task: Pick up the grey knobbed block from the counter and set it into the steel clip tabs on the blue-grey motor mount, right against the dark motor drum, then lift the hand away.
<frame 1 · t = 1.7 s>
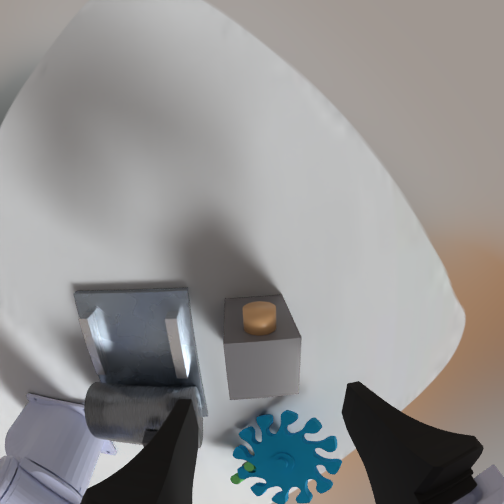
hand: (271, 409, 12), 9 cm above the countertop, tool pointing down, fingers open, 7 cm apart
motor mount: (137, 338, 20), on the countertop
gear: (274, 433, 24), on the countertop
grey knobbed block: (254, 322, 20), on the countertop
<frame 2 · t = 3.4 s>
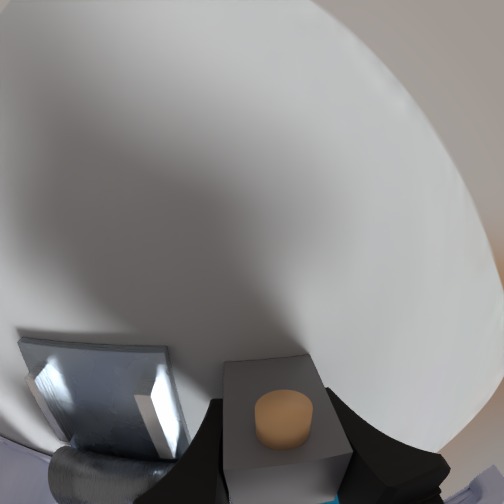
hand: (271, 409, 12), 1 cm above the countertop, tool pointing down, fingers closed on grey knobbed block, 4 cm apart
motor mount: (105, 402, 13), on the countertop
grey knobbed block: (268, 390, 13), on the countertop, touching gripper
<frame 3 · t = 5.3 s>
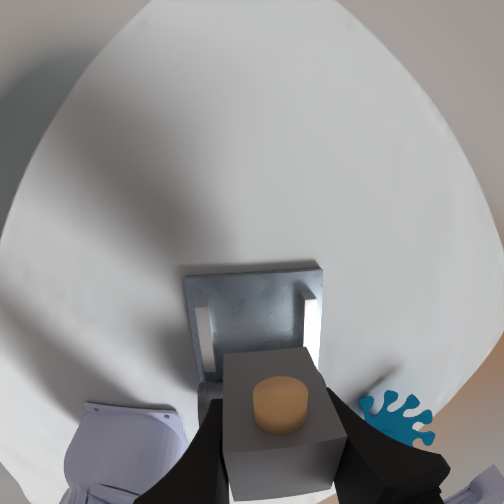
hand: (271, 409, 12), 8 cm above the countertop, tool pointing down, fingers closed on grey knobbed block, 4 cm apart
motor mount: (256, 326, 20), on the countertop
gear: (365, 416, 24), on the countertop
grey knobbed block: (266, 382, 14), point 6 cm above the countertop, touching gripper
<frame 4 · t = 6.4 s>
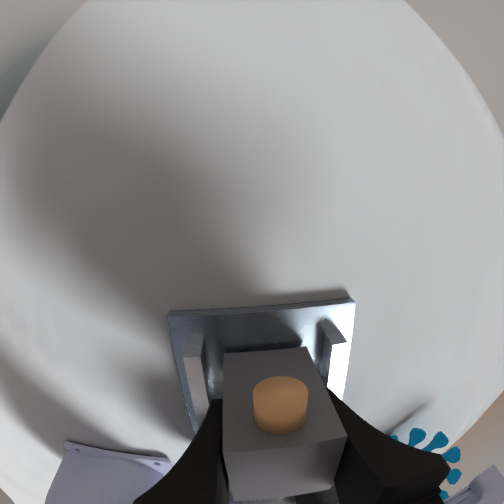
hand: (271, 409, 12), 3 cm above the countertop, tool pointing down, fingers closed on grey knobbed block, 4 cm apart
motor mount: (264, 372, 15), on the countertop
gear: (384, 453, 18), on the countertop
grey knobbed block: (266, 381, 14), point 1 cm above the countertop, touching gripper
when the fingers open (3 cm above the countertop, at t = 7.1 s): grey knobbed block stays where it is, resting on motor mount.
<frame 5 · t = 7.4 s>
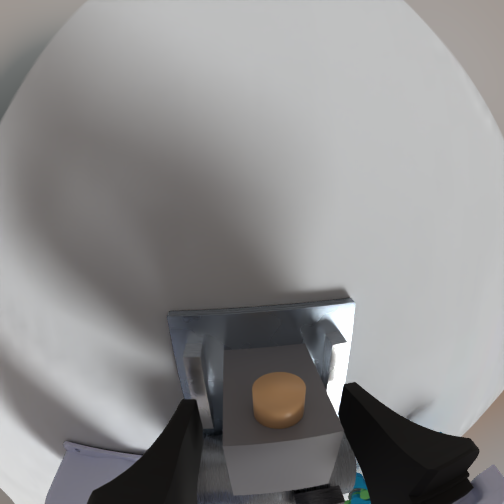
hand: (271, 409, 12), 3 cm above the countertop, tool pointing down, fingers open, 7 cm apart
motor mount: (264, 372, 15), on the countertop
gear: (384, 454, 19), on the countertop
grey knobbed block: (265, 378, 14), point 1 cm above the countertop, touching motor mount
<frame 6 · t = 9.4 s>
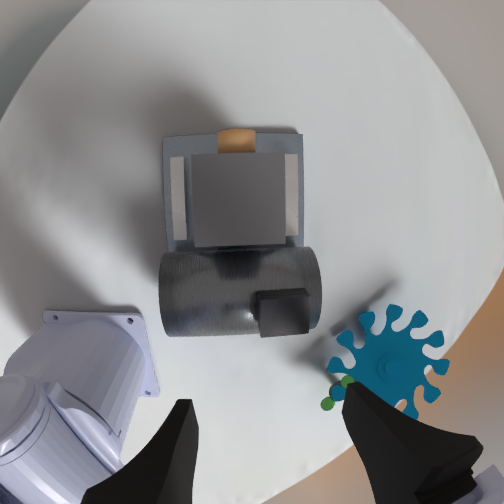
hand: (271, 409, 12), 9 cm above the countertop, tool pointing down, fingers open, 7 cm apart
motor mount: (234, 194, 19), on the countertop
gear: (363, 346, 23), on the countertop
grey knobbed block: (234, 194, 18), point 1 cm above the countertop, touching motor mount
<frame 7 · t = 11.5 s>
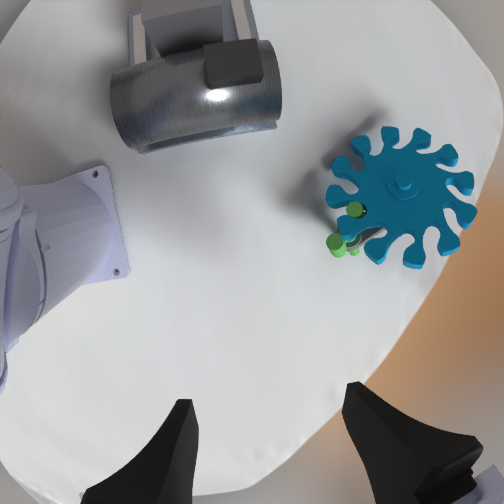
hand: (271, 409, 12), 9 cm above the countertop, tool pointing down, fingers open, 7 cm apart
motor mount: (192, 38, 16), on the countertop
gear: (369, 191, 19), on the countertop
grey knobbed block: (191, 34, 15), point 1 cm above the countertop, touching motor mount
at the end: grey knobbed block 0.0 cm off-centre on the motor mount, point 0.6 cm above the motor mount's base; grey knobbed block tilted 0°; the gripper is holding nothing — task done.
